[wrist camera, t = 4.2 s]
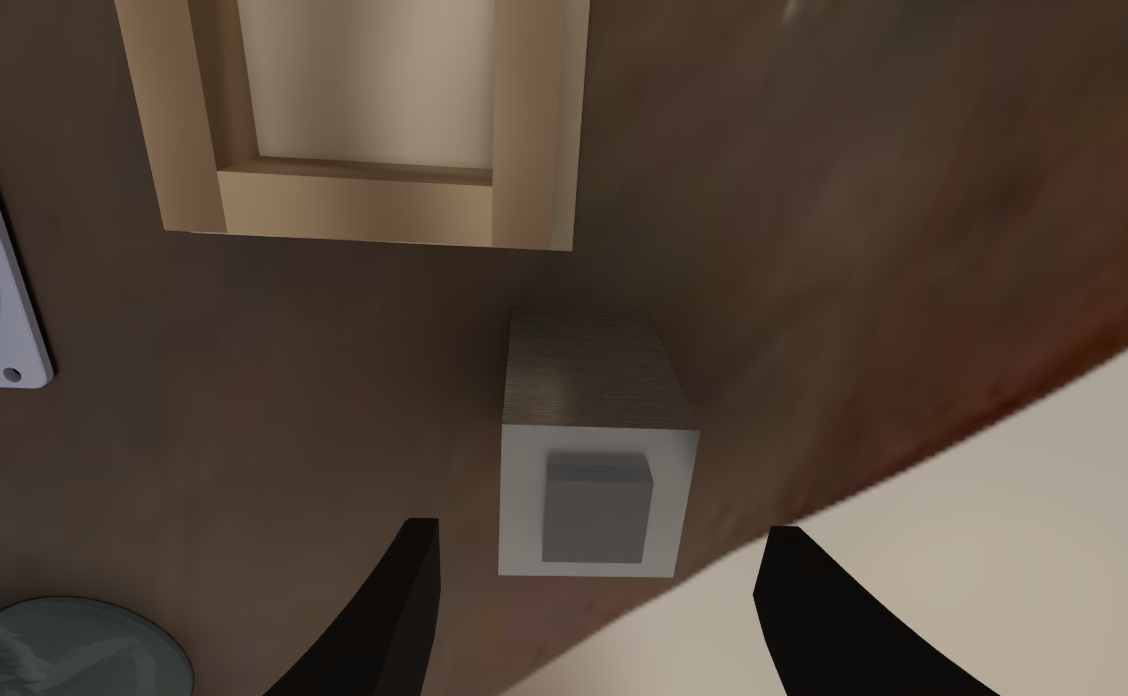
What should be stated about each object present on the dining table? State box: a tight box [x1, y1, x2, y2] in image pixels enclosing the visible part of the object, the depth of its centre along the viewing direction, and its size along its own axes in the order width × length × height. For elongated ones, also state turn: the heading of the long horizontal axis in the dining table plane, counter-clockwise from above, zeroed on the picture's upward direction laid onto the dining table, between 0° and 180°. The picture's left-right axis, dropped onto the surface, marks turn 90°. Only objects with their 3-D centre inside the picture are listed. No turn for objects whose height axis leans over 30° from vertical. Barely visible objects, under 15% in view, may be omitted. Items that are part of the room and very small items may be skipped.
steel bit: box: [498, 308, 701, 577], centre depth 18 cm, size 4×4×8 cm
